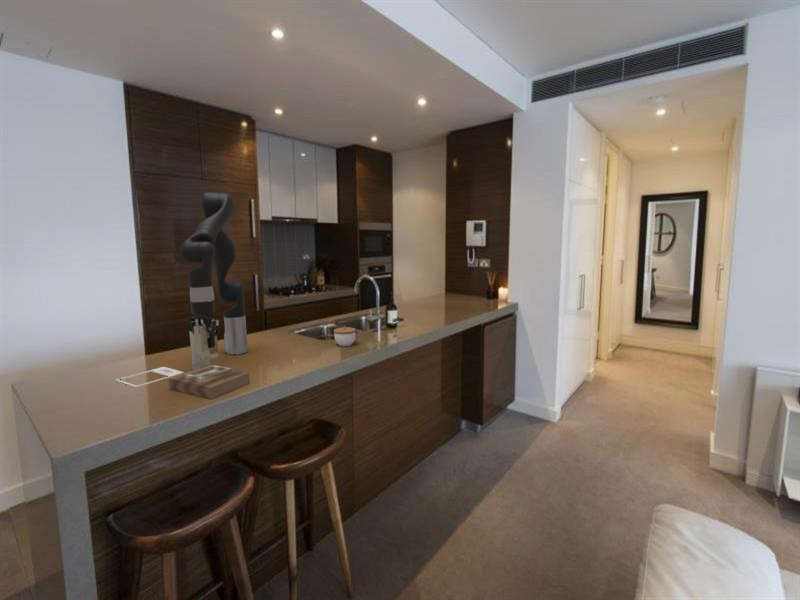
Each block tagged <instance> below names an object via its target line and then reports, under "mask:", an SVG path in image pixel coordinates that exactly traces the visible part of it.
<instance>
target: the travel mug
mask: <svg viewBox="0 0 800 600" xmlns="http://www.w3.org/2000/svg"><path fill="white" fill-rule="evenodd" d="M188 328H189V331H188V333H189V342H190V351H191V363H192V364H191V365H192V370H195V369H198V368H201V367H204V366H207V365H209V366H211V363H210V360H211V359H209V360H205V361H201V360H196V352H195V338H194V334H193V333H192V329H191V326H190V323H189V324H188Z"/></svg>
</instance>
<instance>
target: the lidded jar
mask: <svg viewBox="0 0 800 600" xmlns="http://www.w3.org/2000/svg"><path fill="white" fill-rule="evenodd" d="M356 330H357V329H356V328H355V327H354V328H353V327H349V326H347V327H346V326H345V325H344V326H343V327H337V328H335V329H333V334H334V335H333V336H334V340H335V342H336V343H337V344H338V346H339V347H350V346H352V344H353V343H354V342H355V339H356V332H357V331H356Z"/></svg>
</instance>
